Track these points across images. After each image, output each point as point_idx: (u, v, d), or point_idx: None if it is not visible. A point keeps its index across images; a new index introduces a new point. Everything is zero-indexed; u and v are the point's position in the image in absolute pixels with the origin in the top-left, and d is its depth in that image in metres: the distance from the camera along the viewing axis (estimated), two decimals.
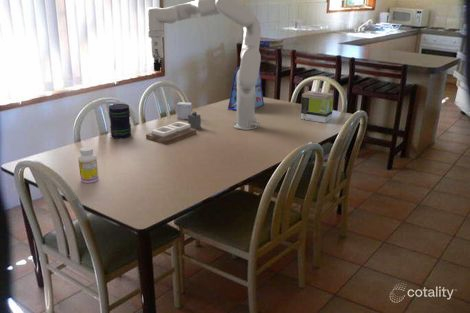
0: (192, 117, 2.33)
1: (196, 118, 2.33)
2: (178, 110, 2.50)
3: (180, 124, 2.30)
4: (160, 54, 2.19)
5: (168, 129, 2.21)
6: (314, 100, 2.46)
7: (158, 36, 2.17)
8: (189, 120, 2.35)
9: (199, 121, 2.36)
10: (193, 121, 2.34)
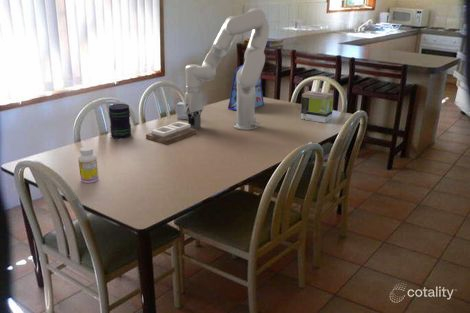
0: None
1: (196, 118, 2.33)
2: (178, 110, 2.50)
3: (180, 124, 2.30)
4: None
5: (168, 129, 2.21)
6: (314, 100, 2.46)
7: None
8: None
9: (199, 121, 2.35)
10: None
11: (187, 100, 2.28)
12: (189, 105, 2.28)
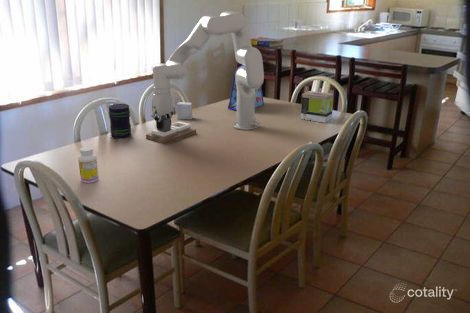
0: None
1: (165, 122, 2.16)
2: (178, 110, 2.50)
3: (180, 124, 2.30)
4: None
5: None
6: (314, 100, 2.46)
7: None
8: None
9: (169, 125, 2.18)
10: (162, 125, 2.16)
11: (155, 102, 2.10)
12: (157, 107, 2.10)
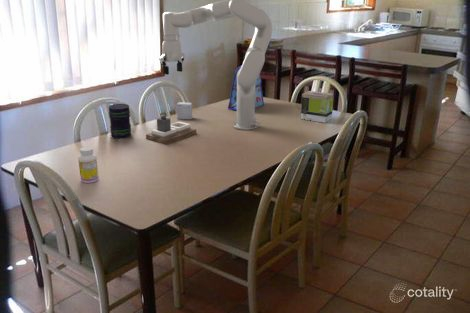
0: (161, 121, 2.16)
1: (165, 122, 2.16)
2: (178, 110, 2.50)
3: (180, 124, 2.30)
4: None
5: None
6: (314, 100, 2.46)
7: None
8: (158, 124, 2.18)
9: (169, 125, 2.18)
10: (162, 125, 2.16)
11: (165, 49, 2.22)
12: (167, 54, 2.22)
